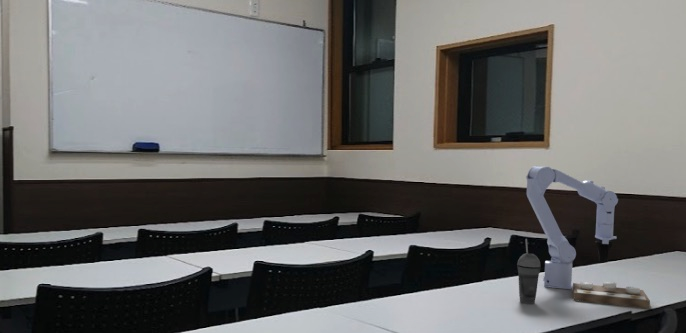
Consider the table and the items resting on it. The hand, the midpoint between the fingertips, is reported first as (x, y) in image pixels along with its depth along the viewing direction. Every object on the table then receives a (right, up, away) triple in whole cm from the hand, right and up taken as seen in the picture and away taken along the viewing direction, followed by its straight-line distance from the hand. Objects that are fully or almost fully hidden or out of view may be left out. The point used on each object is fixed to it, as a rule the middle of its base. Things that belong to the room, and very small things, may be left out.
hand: (603, 261), depth 214 cm
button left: (-12, -7, -15) cm, 20 cm away
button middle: (-5, -6, -17) cm, 19 cm away
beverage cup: (-35, -9, -26) cm, 44 cm away
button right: (+1, -7, -19) cm, 21 cm away
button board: (-5, -10, -17) cm, 20 cm away
